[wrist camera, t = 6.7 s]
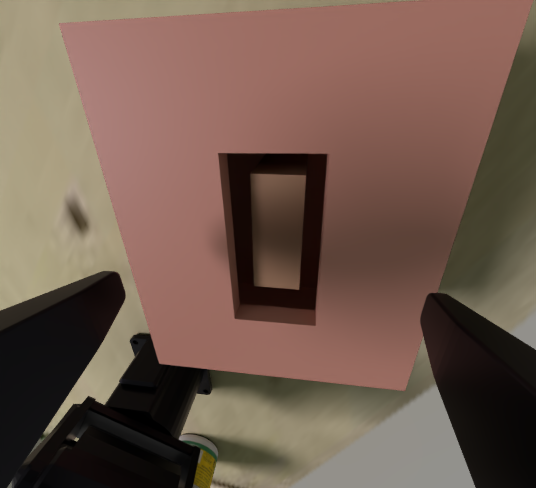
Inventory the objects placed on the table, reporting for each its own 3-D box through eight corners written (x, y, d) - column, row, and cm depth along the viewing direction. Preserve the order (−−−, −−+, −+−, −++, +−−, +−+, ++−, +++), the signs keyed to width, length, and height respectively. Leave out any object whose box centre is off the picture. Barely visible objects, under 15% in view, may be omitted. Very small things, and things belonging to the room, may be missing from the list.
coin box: (375, 295, 19) (405, 391, 13) (204, 283, 21) (159, 363, 14) (425, 43, 12) (535, -8, 6) (169, 54, 14) (58, 23, 8)
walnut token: (302, 238, 17) (299, 289, 12) (269, 236, 17) (253, 285, 12) (308, 150, 14) (305, 175, 10) (269, 149, 15) (250, 173, 10)
